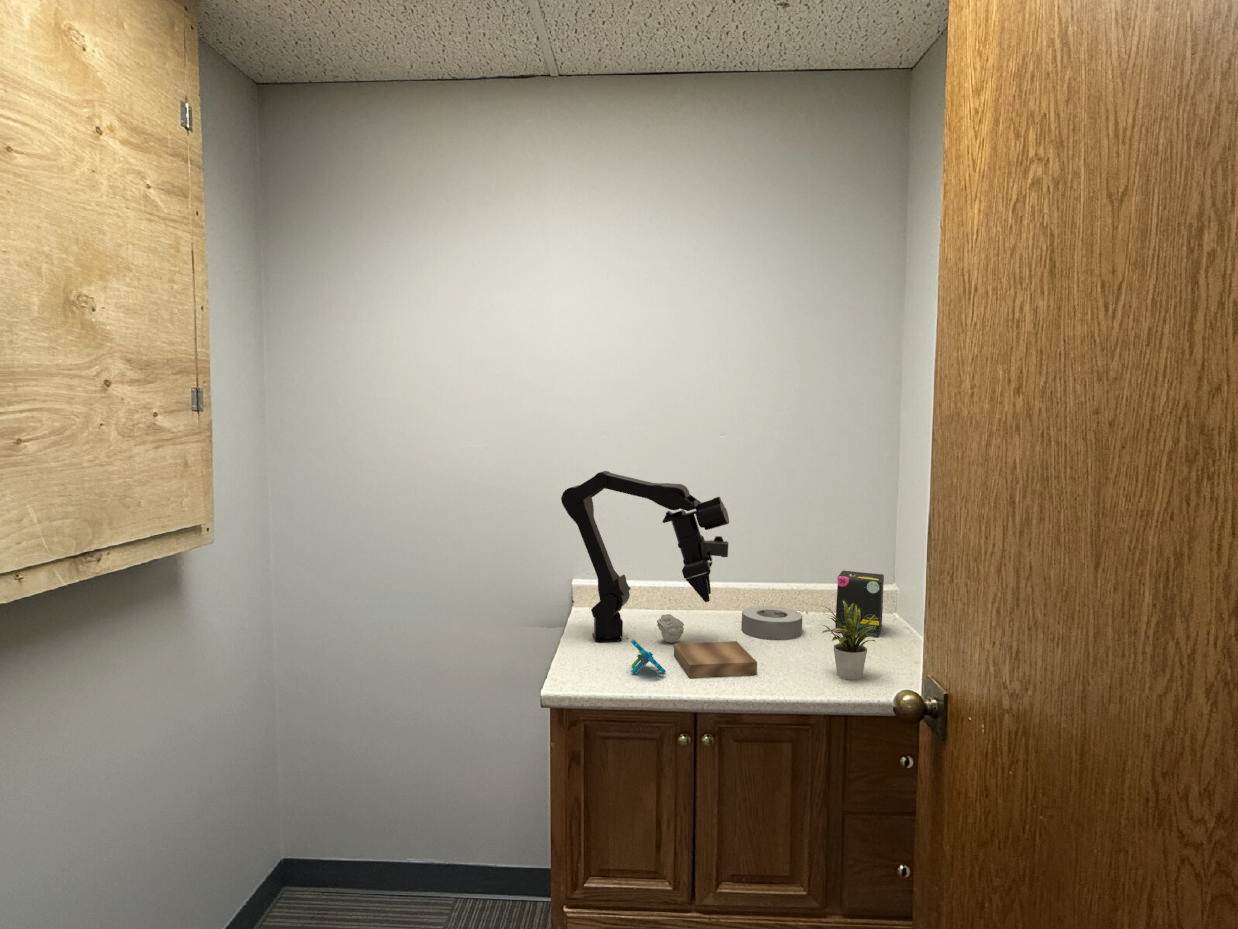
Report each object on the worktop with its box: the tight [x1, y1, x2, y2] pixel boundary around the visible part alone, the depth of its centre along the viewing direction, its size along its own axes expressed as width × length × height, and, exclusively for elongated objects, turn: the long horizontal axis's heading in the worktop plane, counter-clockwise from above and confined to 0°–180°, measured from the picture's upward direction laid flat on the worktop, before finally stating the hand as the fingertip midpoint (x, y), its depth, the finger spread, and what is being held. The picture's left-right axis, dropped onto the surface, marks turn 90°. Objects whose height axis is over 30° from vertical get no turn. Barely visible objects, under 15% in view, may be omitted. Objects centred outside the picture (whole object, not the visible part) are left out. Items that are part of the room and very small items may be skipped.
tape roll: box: [741, 605, 803, 641], centre depth 206 cm, size 15×15×5 cm
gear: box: [630, 638, 667, 675], centre depth 174 cm, size 11×6×10 cm
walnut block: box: [673, 640, 758, 679], centre depth 179 cm, size 15×15×4 cm
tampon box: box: [834, 570, 885, 638], centre depth 207 cm, size 11×9×15 cm
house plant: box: [819, 601, 877, 681], centre depth 174 cm, size 14×14×16 cm
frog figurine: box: [656, 613, 685, 644], centre depth 196 cm, size 6×7×7 cm
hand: (708, 597), depth 191 cm, fingers open, 9 cm apart
